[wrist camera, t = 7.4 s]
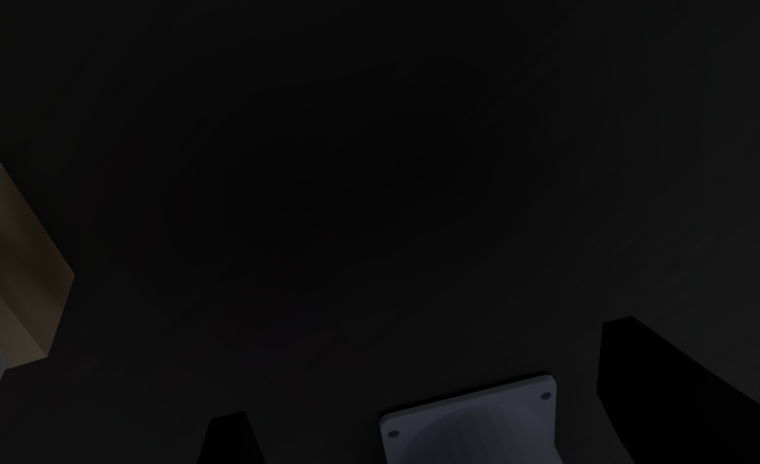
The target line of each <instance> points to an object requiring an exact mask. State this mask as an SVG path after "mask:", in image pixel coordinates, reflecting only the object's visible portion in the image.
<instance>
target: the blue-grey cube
mask: <svg viewBox="0 0 760 464" xmlns="http://www.w3.org/2000/svg"><path fill="white" fill-rule="evenodd" d="M7 363H8V360H7V358H6V357H5V355H4V354H3V352H2V351H1V349H0V380H1V377H2V375H3V372H4V370H5V368H6V365H7Z"/></svg>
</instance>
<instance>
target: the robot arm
mask: <svg viewBox="0 0 760 464" xmlns="http://www.w3.org/2000/svg"><path fill="white" fill-rule="evenodd" d="M597 394H598V396H599V398H600V400H601V402H602V404H603V406H604V408H605V411H606V413H607V415H608V417H609V419H610V421H611V423H612V425H613V427H614V429H615V431H616V433H617V435H618V437H619V439H620V440H621V442H622V443H623V445H624V447H625V448H626V450H627V451H628V453H629V455H630V456H631V458H632V459H633V461H634V462H635V464H760V404H759V403H757V402H756V401H754V400H753V399H751V398H749V397H748V396H746V395H745V394H743V393H742V392H740V391H739V390H737V389H736V388H734V387H733V386H731V385H730V384H728V383H727V382H725V381H724V380H722V379H721V378H719V377H718V376H716V375H715V374H713V373H712V372H710V371H709V370H707V369H706V368H704V367H703V366H702V365H700V364H699V363H697V362H696V361H694V360H693V359H692V358H690V357H689V356H687V355H686V354H684V353H683V352H682V351H680V350H679V349H677V348H676V347H675V346H673V345H672V344H670V343H669V342H668V341H666V340H665V339H663V338H662V337H661V336H659V335H658V334H656V333H655V332H654V331H652V330H651V329H650V328H648V327H647V326H645V325H644V324H642V323H641V322H640V321H638V320H637V319H635V318H634V317H632V316H630V317H626V318H622V319H617V320H613V321H609V322H605V323H603V327H602V338H601V349H600V360H599V371H598V381H597ZM555 408H556V382H555V380H554V379H553V377H552V376H550V375H542V376H538V377H534V378H530V379H526V380H522V381H518V382H514V383H510V384H506V385H501V386H497V387H493V388H489V389H485V390H481V391H477V392H473V393H469V394H465V395H461V396H457V397H453V398H449V399H445V400H441V401H437V402H433V403H429V404H425V405H421V406H417V407H413V408H409V409H405V410H401V411H397V412H393V413H389V414H386V415H384V416H383V417H382V418H381V419H380V420H379V426H380V431H381V436H382V440H383V445H384V450H385V454H386V459H387V464H563V462H562V460H561V458H560V456H559V454H558V452H557V450H556V448H555V446H554V433H555ZM197 464H266V462H265V460H264V457H263V455H262V452H261V450H260V448H259V445H258V443H257V440H256V438H255V435H254V433H253V430H252V428H251V425H250V423H249V420H248V418H247V415H246V413H245V411H242V412H238V413H233V414H229V415H225V416H221V417H217V418H213V419H212V420H211V422H210V423H209V425H208V429H207V432H206V436H205V440H204V443H203V446H202V450H201V453H200V456H199V459H198V462H197Z"/></svg>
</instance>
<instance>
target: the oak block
mask: <svg viewBox="0 0 760 464" xmlns="http://www.w3.org/2000/svg"><path fill="white" fill-rule="evenodd" d="M74 276H75V275H74V273H73V272H72V270H71V269H70V267H69V265H68V264H67V262H66V261H65V259H64V258H63V256H62V255H61V253H60V252H59V250H58V249H57V247H56V246H55V244H54V243H53V241H52V240H51V238H50V237H49V235H48V234H47V232H46V231H45V229H44V228H43V226H42V225H41V223H40V222H39V220H38V219H37V217H36V216H35V214H34V213H33V211H32V210H31V208H30V206H29V205H28V203H27V202H26V200H25V199H24V197H23V196H22V194H21V193H20V191H19V190H18V188H17V187H16V185H15V184H14V182H13V181H12V179H11V178H10V176H9V175H8V173H7V172H6V170H5V169H4V167H3V166H2V164H1V163H0V349H1V351H2V352H3V354H4V355H5V357H6V358H7V360H8V363H7V365H6V368H5V369H8V368H12V367H15V366H19V365H22V364H25V363H29V362H32V361H35V360H39V359H42V358H45V357H47V356H48V353H49V350H50V347H51V344H52V341H53V338H54V335H55V332H56V330H57V327H58V324H59V321H60V318H61V315H62V312H63V309H64V306H65V303H66V300H67V297H68V294H69V291H70V288H71V285H72V282H73V279H74Z"/></svg>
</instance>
